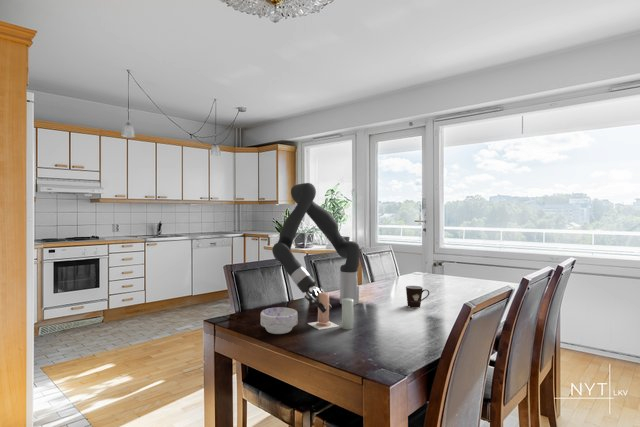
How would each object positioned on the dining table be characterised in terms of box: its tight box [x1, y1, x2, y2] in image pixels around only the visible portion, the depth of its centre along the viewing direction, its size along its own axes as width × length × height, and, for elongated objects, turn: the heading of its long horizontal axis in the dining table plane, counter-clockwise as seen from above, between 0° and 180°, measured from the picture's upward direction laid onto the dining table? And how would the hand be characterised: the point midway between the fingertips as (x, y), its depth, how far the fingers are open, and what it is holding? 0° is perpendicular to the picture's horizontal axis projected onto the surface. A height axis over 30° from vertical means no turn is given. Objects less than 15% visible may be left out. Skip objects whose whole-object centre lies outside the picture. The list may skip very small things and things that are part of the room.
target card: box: [307, 320, 340, 331], centre depth 172 cm, size 10×10×1 cm
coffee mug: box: [405, 285, 430, 308], centre depth 207 cm, size 12×9×10 cm
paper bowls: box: [260, 306, 299, 335], centre depth 164 cm, size 15×15×8 cm
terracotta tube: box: [317, 291, 330, 323], centre depth 172 cm, size 5×5×12 cm
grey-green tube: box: [341, 298, 354, 331], centre depth 168 cm, size 5×5×12 cm
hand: (327, 309), depth 171 cm, fingers closed on terracotta tube, 4 cm apart
